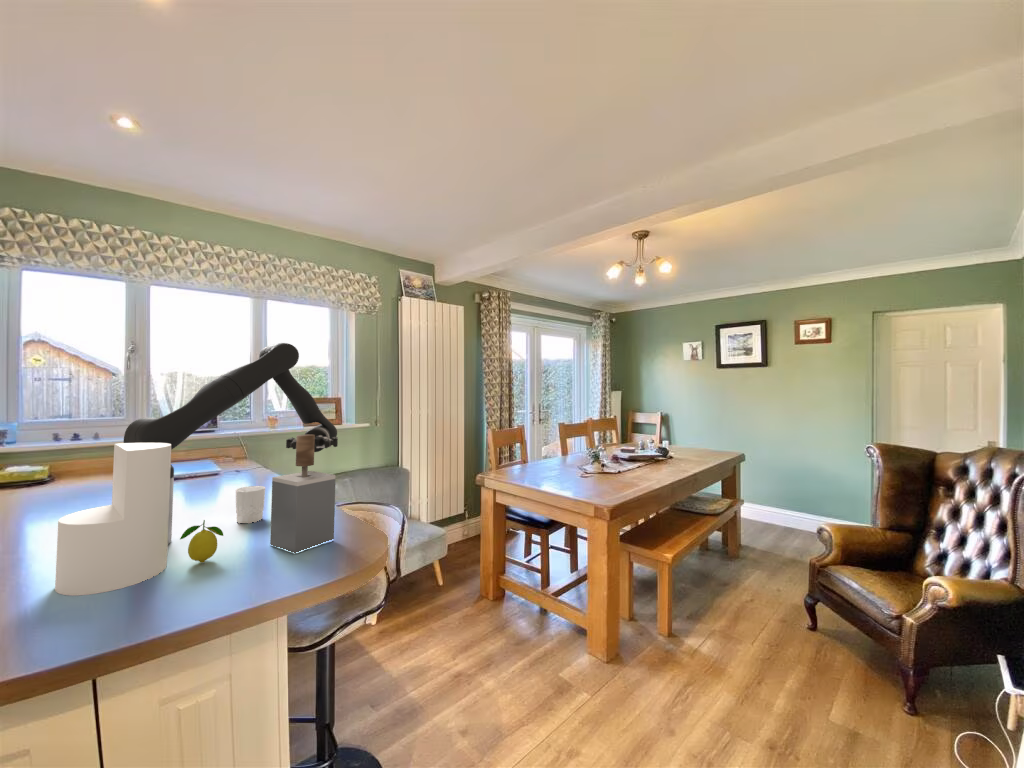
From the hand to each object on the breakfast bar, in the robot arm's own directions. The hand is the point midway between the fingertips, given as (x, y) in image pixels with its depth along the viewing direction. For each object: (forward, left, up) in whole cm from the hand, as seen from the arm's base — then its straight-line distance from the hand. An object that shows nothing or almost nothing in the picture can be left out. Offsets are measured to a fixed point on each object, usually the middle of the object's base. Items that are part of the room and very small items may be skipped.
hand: (310, 445), depth 120 cm
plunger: (-7, -8, -23) cm, 25 cm away
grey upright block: (-7, -8, -25) cm, 27 cm away
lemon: (-27, 0, -25) cm, 37 cm away
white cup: (-4, +24, -25) cm, 35 cm away
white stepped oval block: (-40, +8, -25) cm, 48 cm away
